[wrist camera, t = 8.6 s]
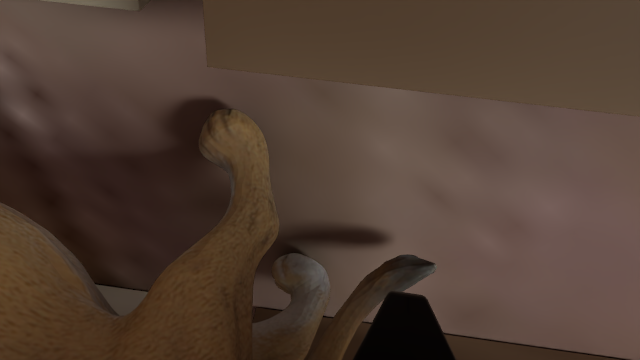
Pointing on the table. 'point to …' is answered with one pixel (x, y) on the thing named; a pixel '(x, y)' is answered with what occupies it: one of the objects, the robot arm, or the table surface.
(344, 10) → the channel
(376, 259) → the table surface
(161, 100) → the table surface
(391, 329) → the robot arm
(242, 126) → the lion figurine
